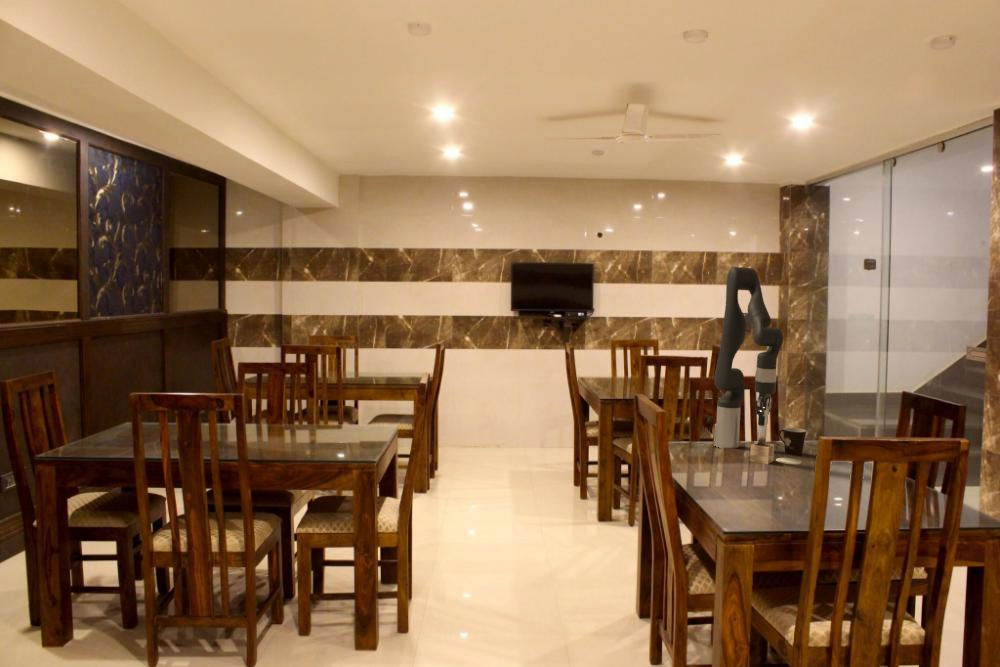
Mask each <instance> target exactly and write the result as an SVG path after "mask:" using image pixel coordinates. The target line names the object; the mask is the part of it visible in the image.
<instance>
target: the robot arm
mask: <svg viewBox="0 0 1000 667" xmlns="http://www.w3.org/2000/svg"><path fill="white" fill-rule="evenodd" d="M739 291H748V292H749V294H750V296H751V297H750V300H749V302H748V305H747V314H748V317H749V319H750V321H751V324H752V332H753V333H752V335H753V336H752V337H753V338H752V339H753V342H754V343H755V344H756V345H757V346H760V347H768V349H767V350H766V351H761V352H759V353H758V354H757V358H756V370H755V377H754V392H755V393H758V397H757V400H755V402H754V403H755V414H756V415H757V418H758V419H757V420H758V421H757V425H758V427H759V426H764V425H765V412H766V410H767V409H768V417H767V425H769V424H768V423H769V415H770V413H771V412H772V407H773V401H774V397H771V394H772V395H773V394H776V388H777V366H778V364H777V362H778V361H777V360H778V358H779V356H778V355H779V353H780V350H781V347H782V345H783V343H784V334H783V331H782V330H781V328H778V327H770V325H772V318H771V316H770V313H769V311H768V309H767V306H766V304H765V301H764V298H763V293H762V292H763V291H762V288H761V282H760V278H759V275H758V273H757V271H756V269H754V268H751V267H743V266H741V267H739V266H732V267H731V268H729V269H728V273H727V276H726V291H725V293H726V294H725V307H724V309H725V310H724V316H723V323H722V331H721V341H720V346H719V354H718V359H717V364H716V367H715V371H714V379H713V380H714V386H715V388H716V389H717V390H718V391H722V392H724V391H725V393H724V394H723V395H722V396H721V397H718V399H717V404H716V406H717V408H716V422H715V424H714V431H713V432H714V433H713V434H714V435H713V447H714V446H716V448H718V447H719V448H718V449H722V448H725V449H736V448H739V445H740V421H741V403H742V401H743V400H744V390H745V377H744V373H743V370H741V369H739V368H736V367H733V362H734V358H735V357H736V355H737V353H738V351H739V350H740V348H741V347H742V345H743V343H744V341H745V339H746V331H747V325H748V324H747V320H746V319H747V318H746V317H745V314H744V313H743V310H742V308H741V306H740V303H739ZM760 410H761V412H760Z"/></svg>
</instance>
